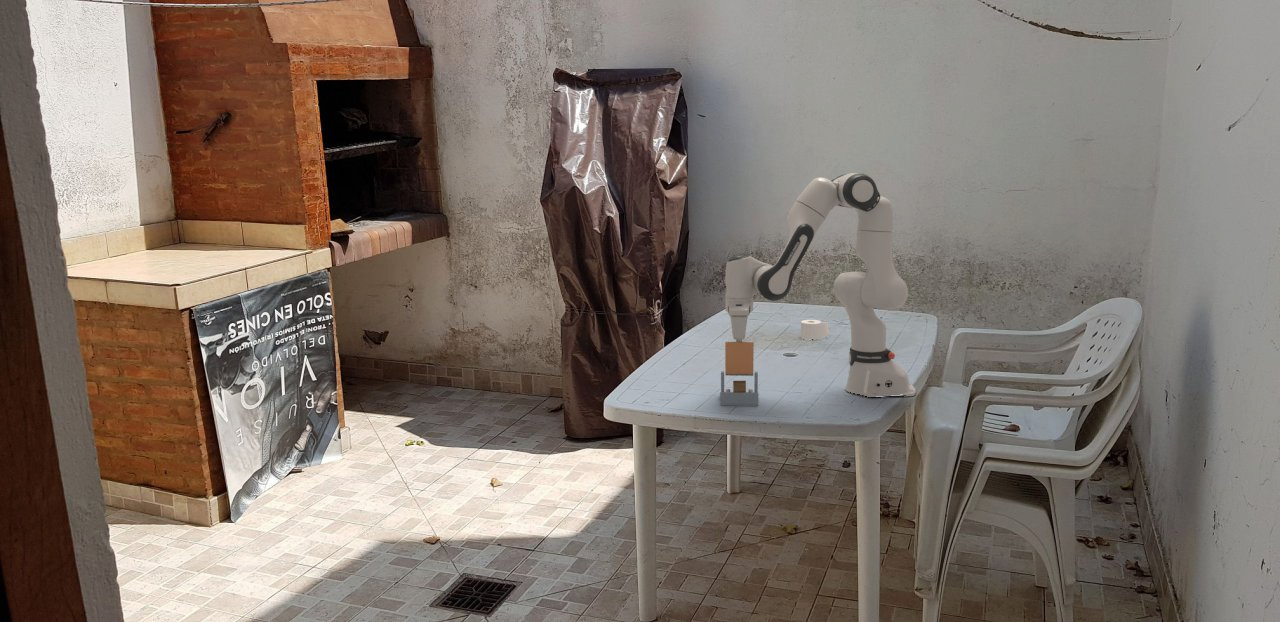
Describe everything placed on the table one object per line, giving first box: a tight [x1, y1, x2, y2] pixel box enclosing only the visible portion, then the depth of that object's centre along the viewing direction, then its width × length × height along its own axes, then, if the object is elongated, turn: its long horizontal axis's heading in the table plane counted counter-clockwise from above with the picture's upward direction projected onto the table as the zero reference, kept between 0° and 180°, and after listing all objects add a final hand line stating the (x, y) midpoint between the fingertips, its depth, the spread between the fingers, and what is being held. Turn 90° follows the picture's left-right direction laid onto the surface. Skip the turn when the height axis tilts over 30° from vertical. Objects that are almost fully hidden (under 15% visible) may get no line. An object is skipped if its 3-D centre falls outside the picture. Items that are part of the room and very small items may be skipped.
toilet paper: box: [800, 319, 830, 339], centre depth 400 cm, size 8×11×7 cm
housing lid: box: [724, 341, 755, 377], centre depth 316 cm, size 9×12×1 cm
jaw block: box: [732, 380, 747, 393], centre depth 312 cm, size 4×4×5 cm
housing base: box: [719, 370, 759, 407], centre depth 314 cm, size 12×11×8 cm
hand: (739, 347), depth 316 cm, fingers closed
